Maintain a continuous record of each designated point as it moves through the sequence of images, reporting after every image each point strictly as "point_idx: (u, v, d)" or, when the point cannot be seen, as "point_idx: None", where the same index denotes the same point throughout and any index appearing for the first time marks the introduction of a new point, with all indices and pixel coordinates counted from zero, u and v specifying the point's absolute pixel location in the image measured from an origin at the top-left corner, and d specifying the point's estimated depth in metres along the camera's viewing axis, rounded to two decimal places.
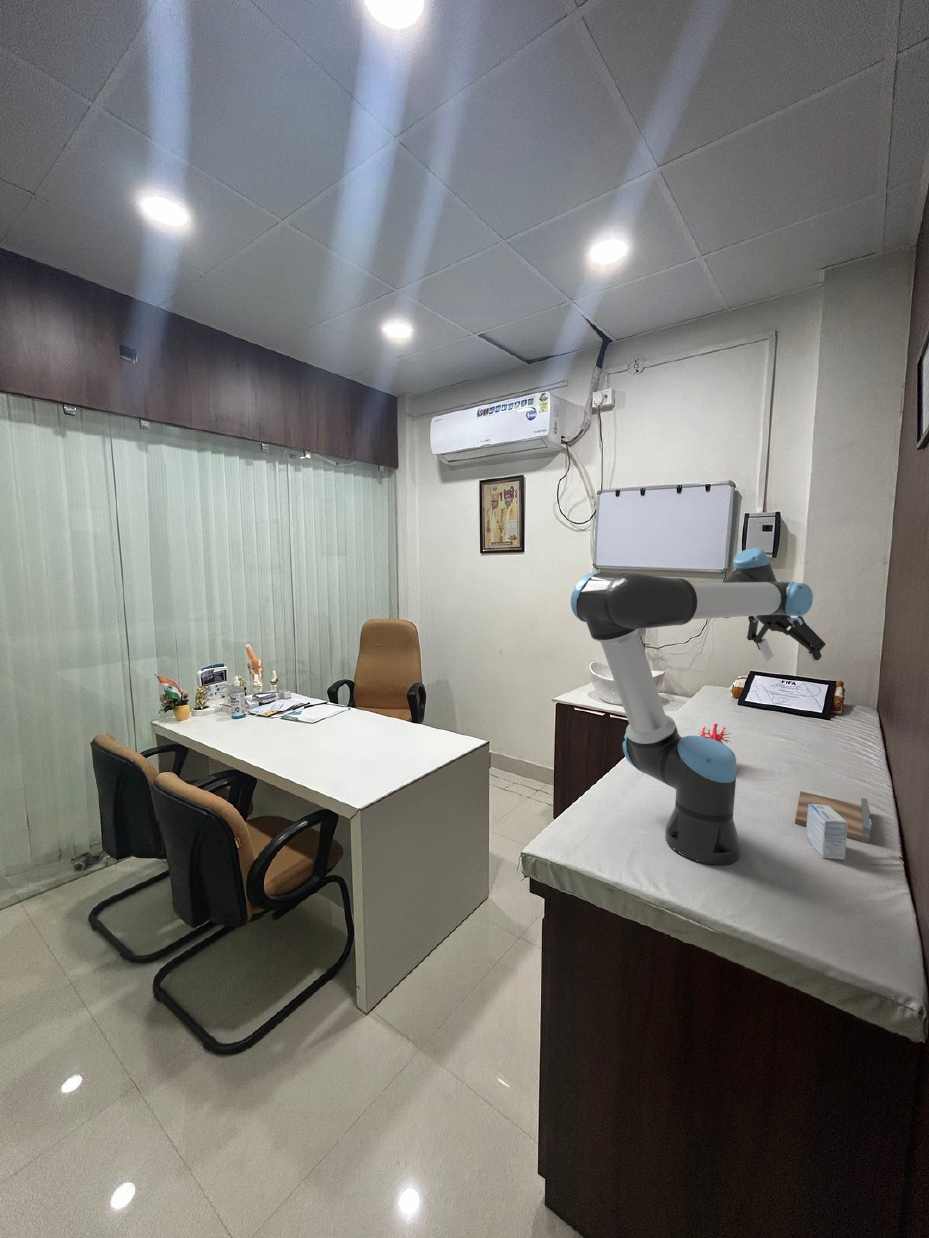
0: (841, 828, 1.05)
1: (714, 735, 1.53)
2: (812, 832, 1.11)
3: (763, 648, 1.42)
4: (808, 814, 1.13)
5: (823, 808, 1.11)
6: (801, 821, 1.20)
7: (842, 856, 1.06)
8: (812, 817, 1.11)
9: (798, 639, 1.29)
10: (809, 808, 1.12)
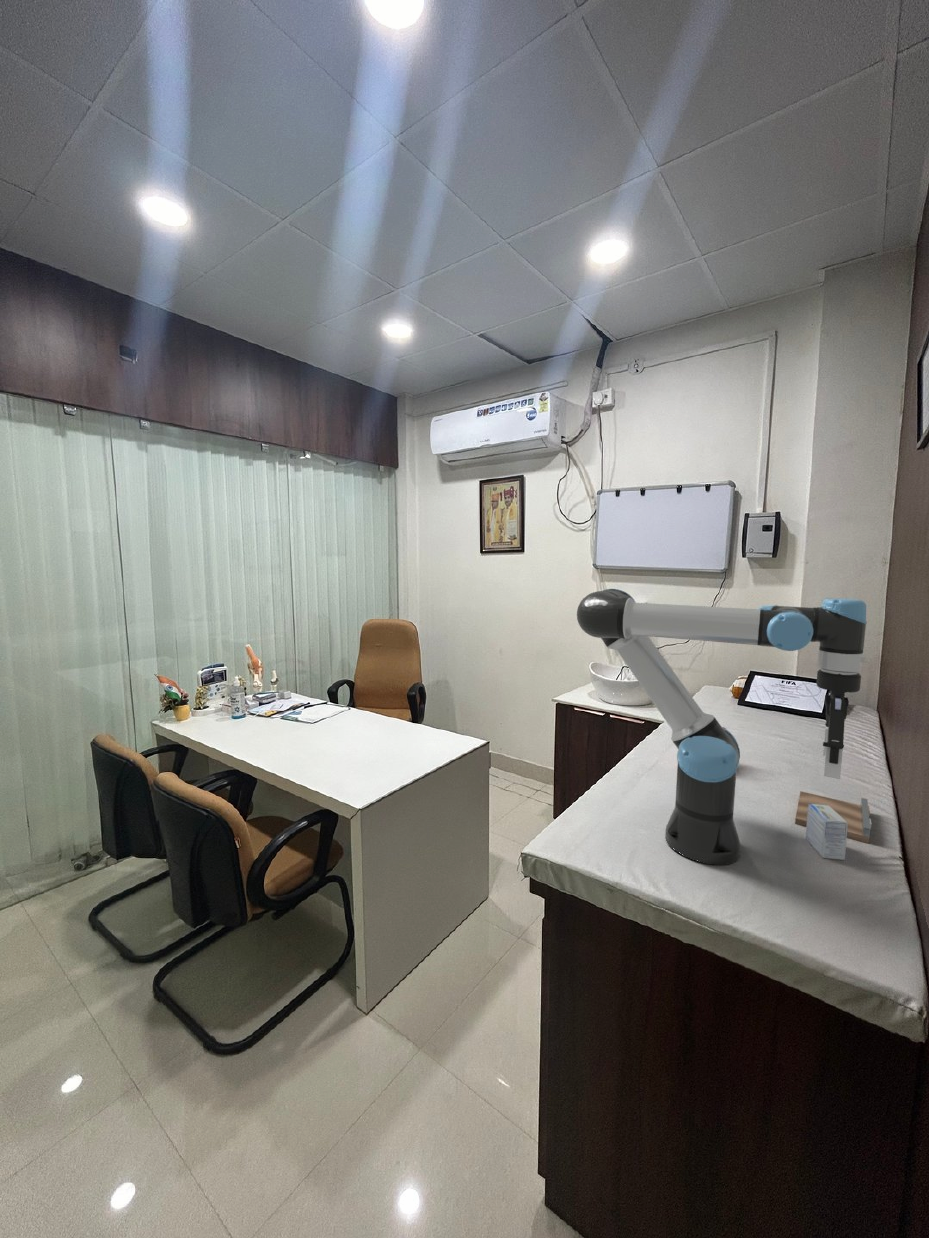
0: (841, 828, 1.05)
1: None
2: (812, 832, 1.11)
3: (826, 736, 1.14)
4: (808, 814, 1.13)
5: (823, 808, 1.11)
6: (801, 821, 1.20)
7: (842, 856, 1.06)
8: (812, 817, 1.11)
9: (828, 725, 1.03)
10: (809, 808, 1.12)
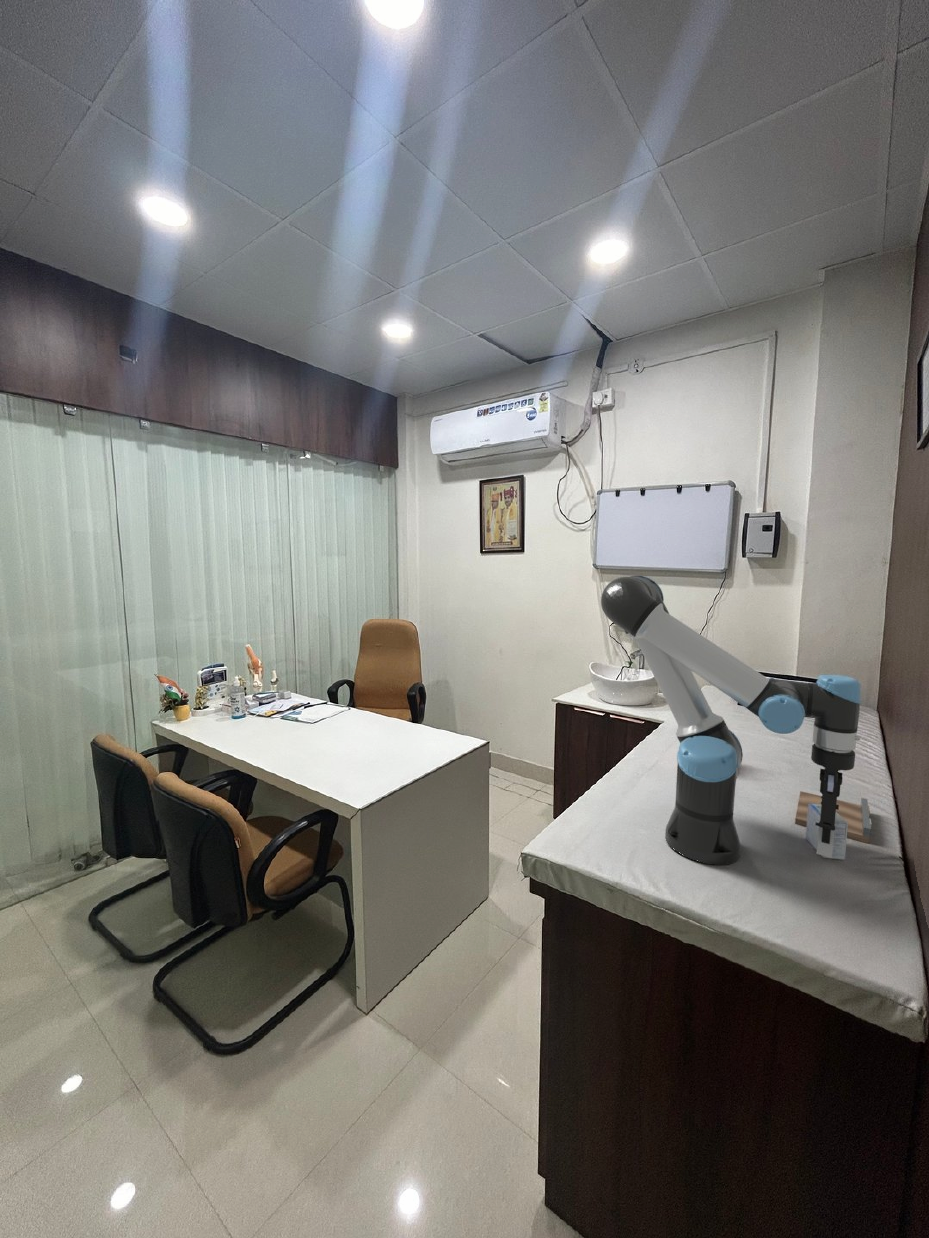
0: (841, 828, 1.05)
1: None
2: (812, 832, 1.11)
3: None
4: (808, 814, 1.13)
5: None
6: (801, 821, 1.20)
7: (843, 856, 1.06)
8: (812, 817, 1.11)
9: None
10: (809, 808, 1.12)
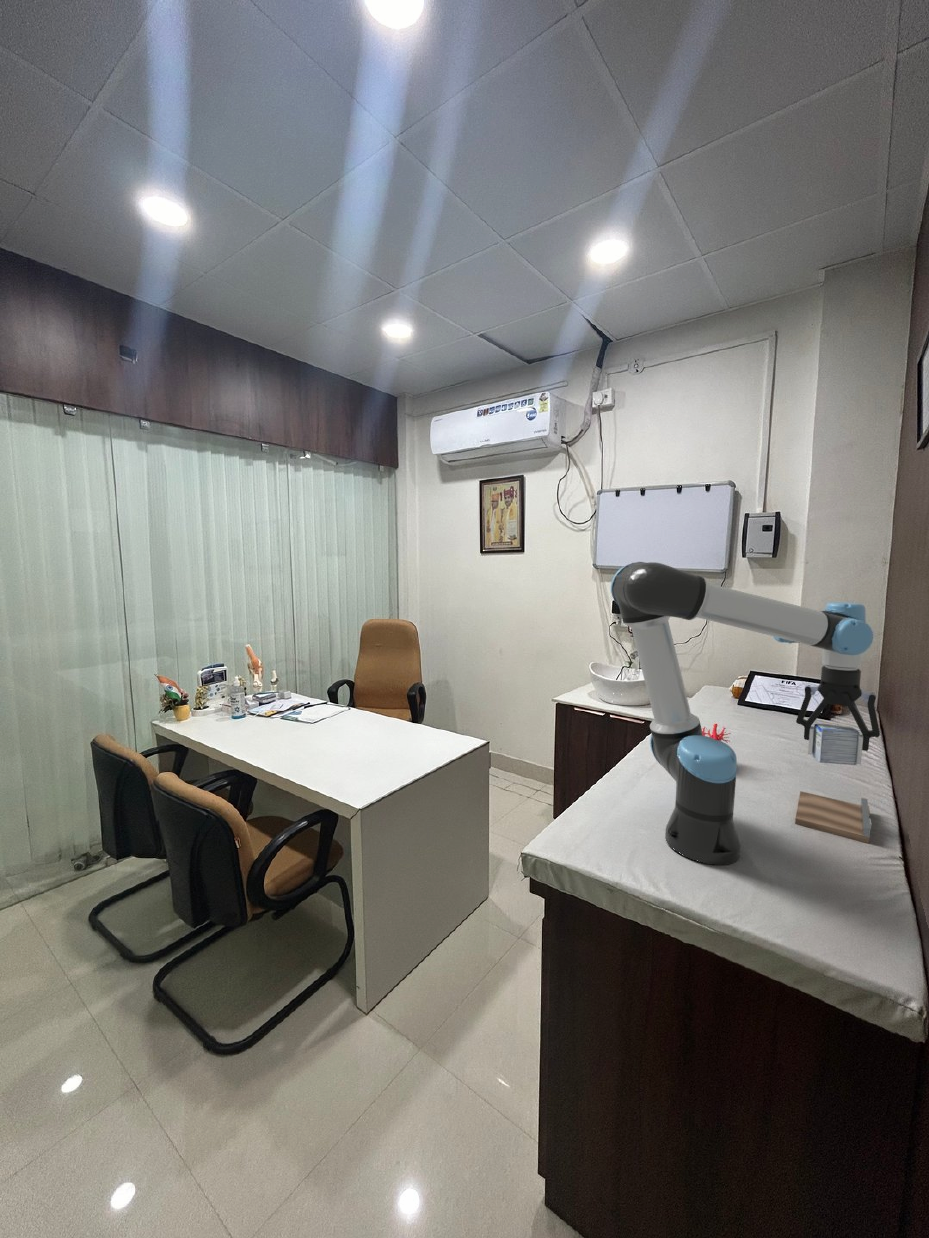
0: None
1: (714, 735, 1.53)
2: (834, 751, 1.19)
3: (813, 736, 1.23)
4: (824, 738, 1.19)
5: (827, 726, 1.21)
6: (801, 821, 1.20)
7: None
8: (833, 737, 1.19)
9: (860, 719, 1.16)
10: (825, 732, 1.19)
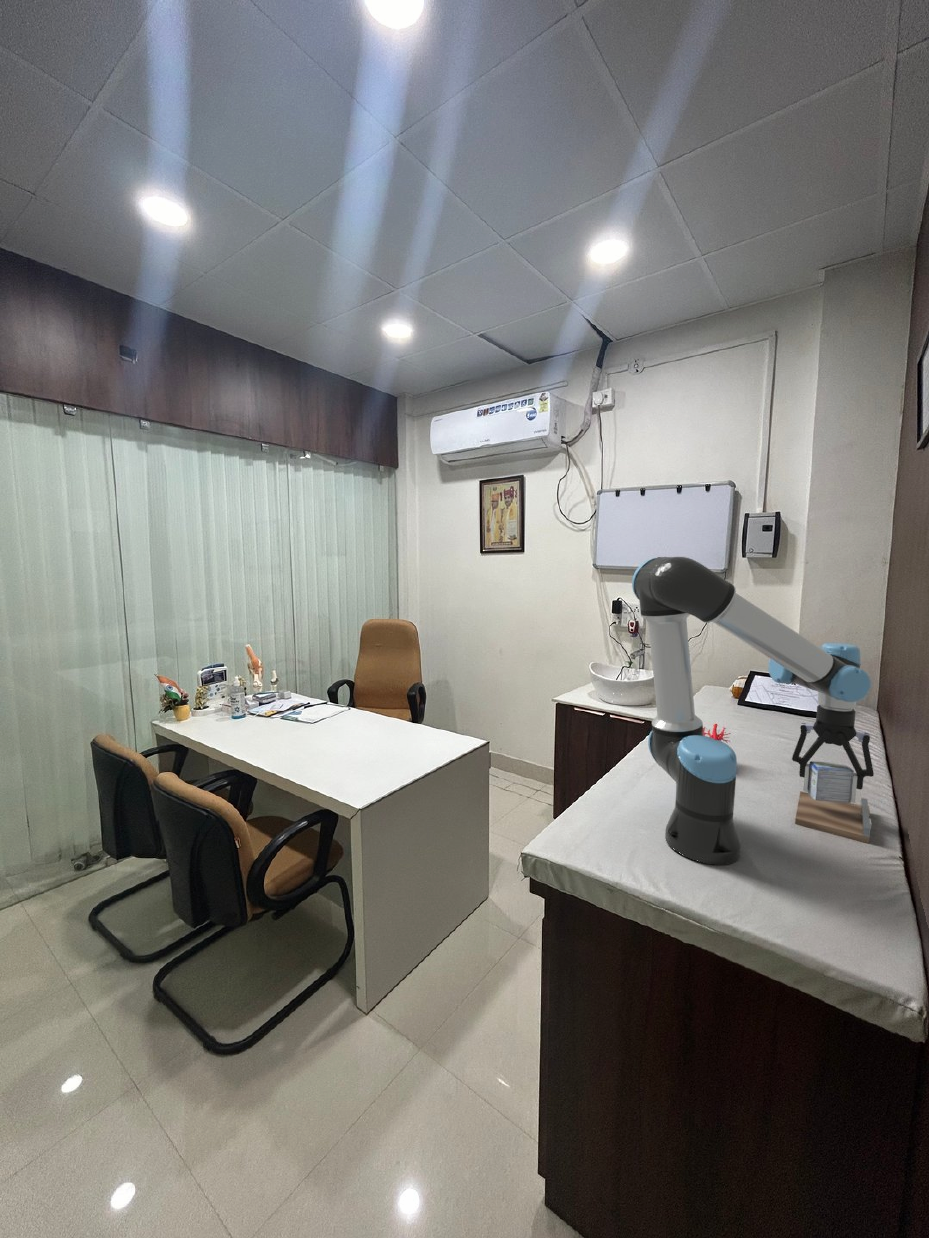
0: None
1: (714, 735, 1.53)
2: (829, 789, 1.21)
3: (808, 774, 1.25)
4: (820, 777, 1.21)
5: (823, 764, 1.23)
6: (801, 821, 1.20)
7: None
8: (828, 776, 1.21)
9: (854, 758, 1.19)
10: (821, 771, 1.21)
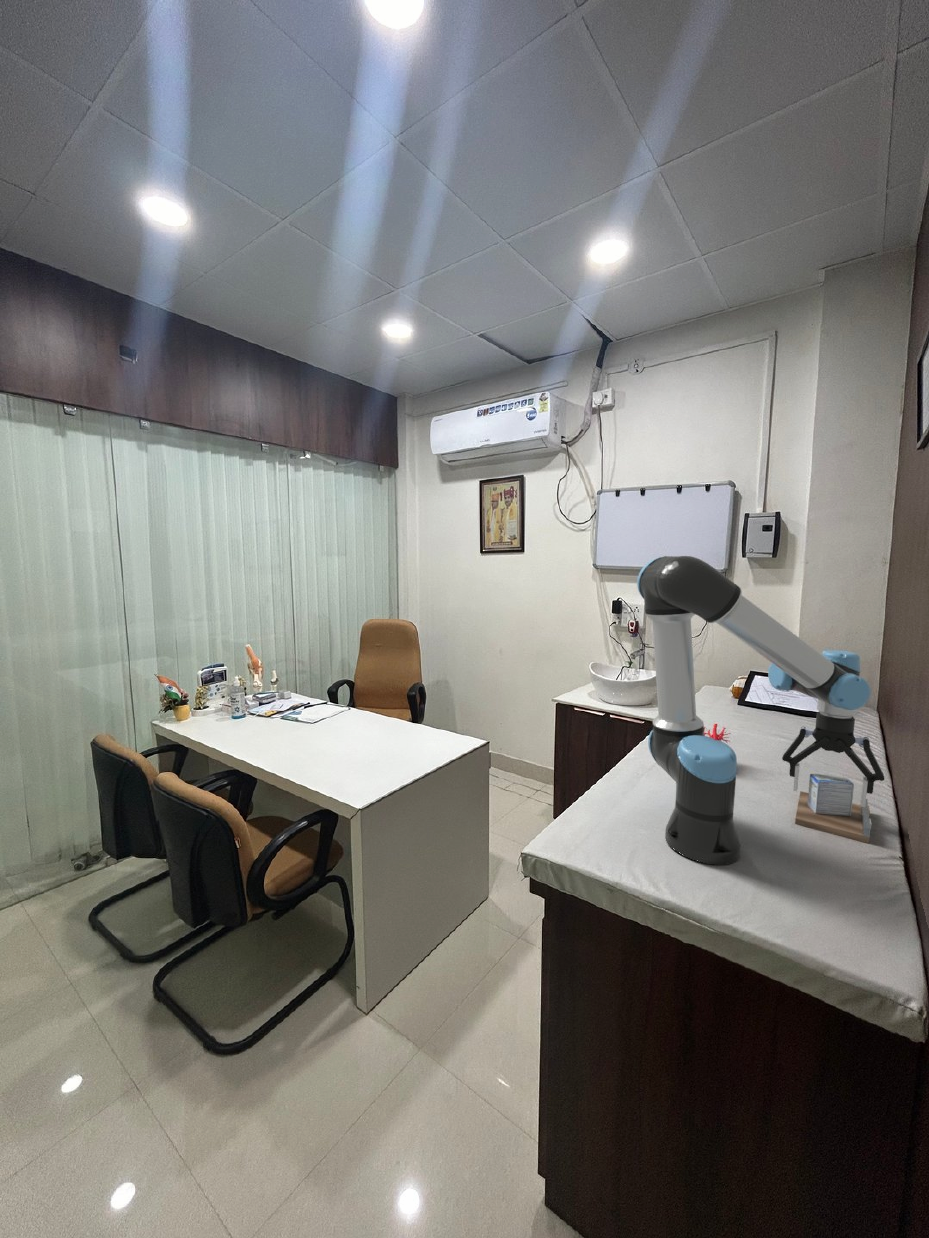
0: None
1: (714, 735, 1.53)
2: (830, 802, 1.21)
3: (798, 773, 1.26)
4: (820, 789, 1.21)
5: (823, 777, 1.23)
6: (801, 821, 1.20)
7: None
8: (829, 789, 1.21)
9: (860, 763, 1.18)
10: (821, 784, 1.21)
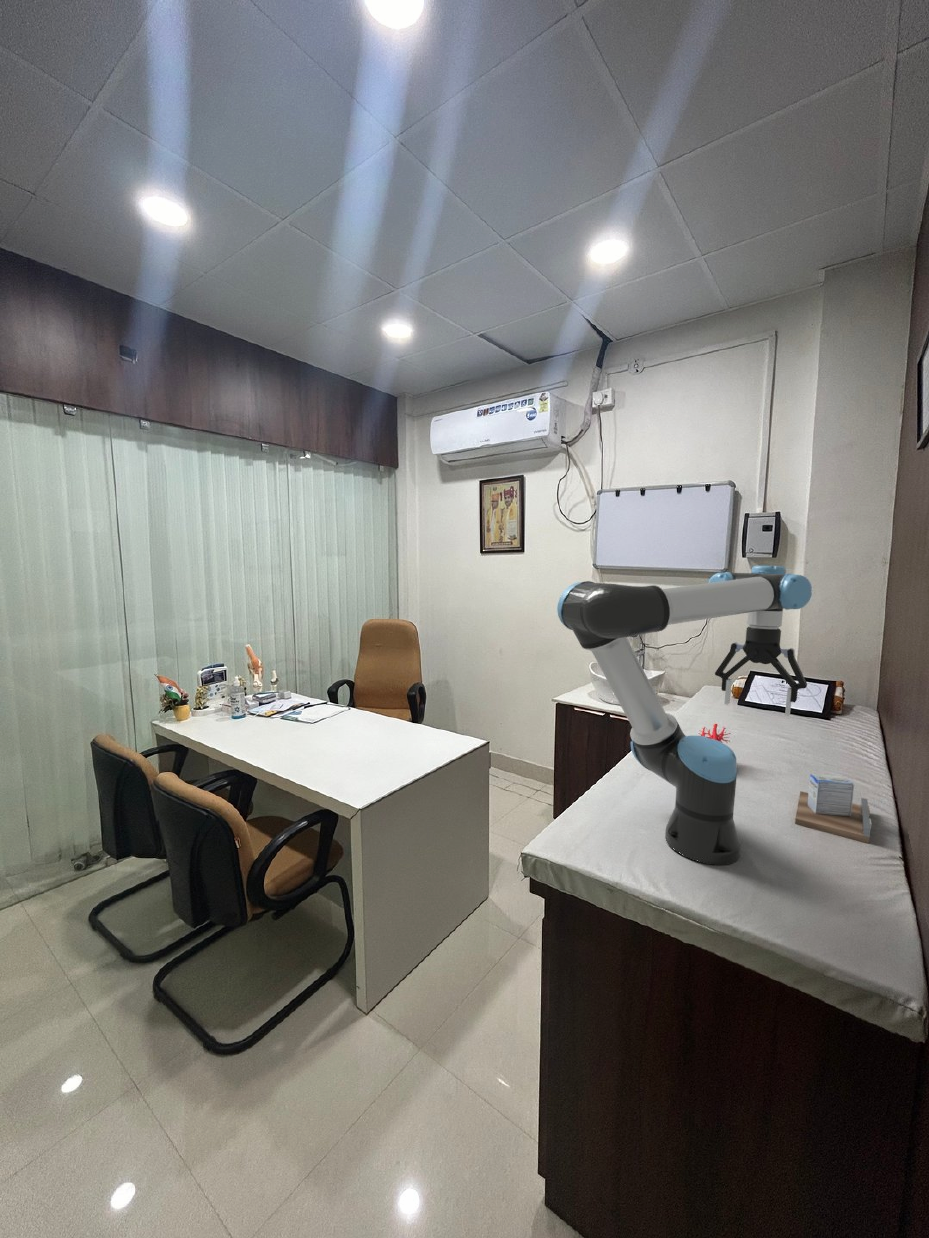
0: None
1: (714, 735, 1.53)
2: (830, 802, 1.21)
3: (729, 687, 1.30)
4: (820, 790, 1.21)
5: (823, 777, 1.23)
6: (801, 821, 1.20)
7: None
8: (829, 789, 1.21)
9: (784, 673, 1.22)
10: (821, 784, 1.21)
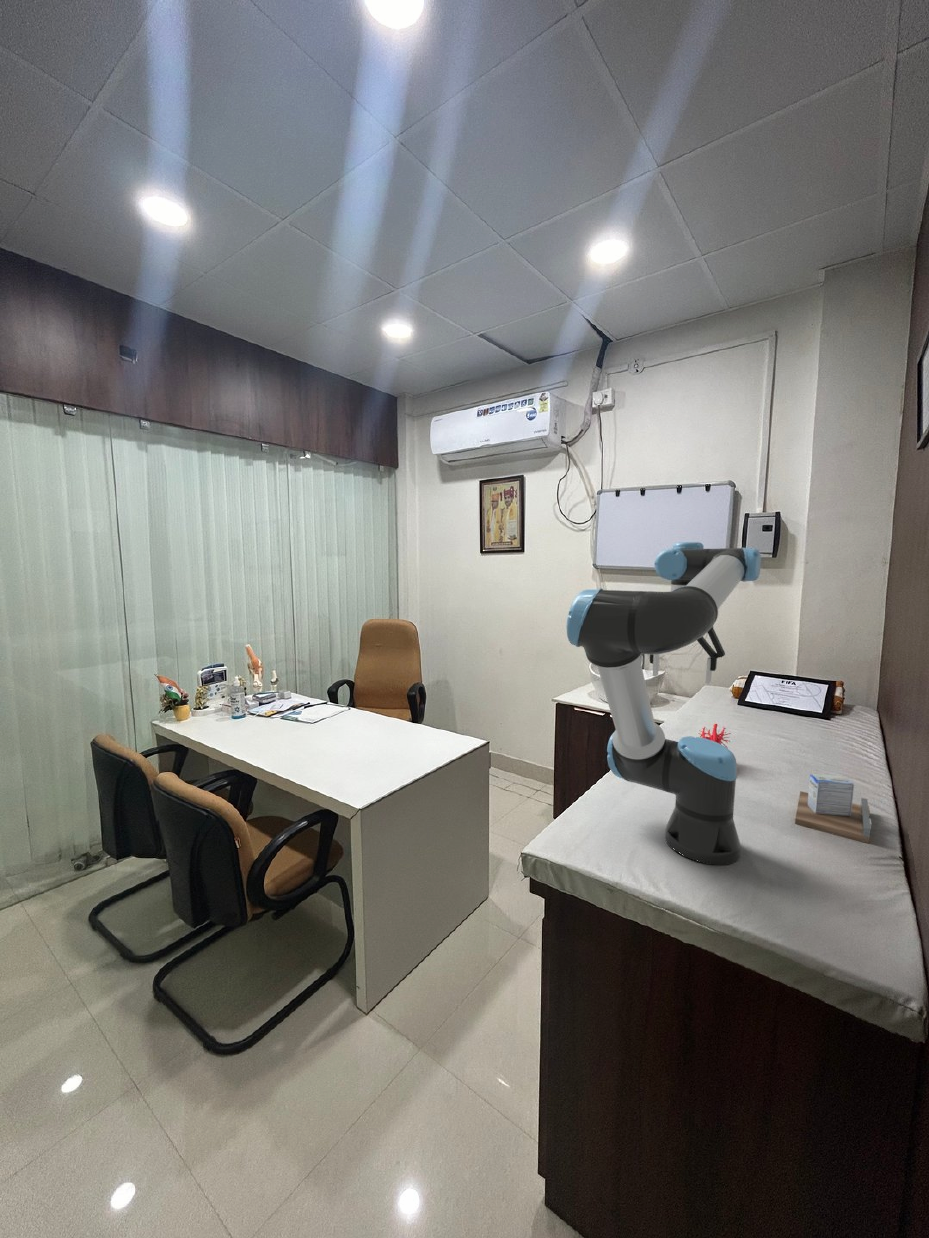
0: None
1: (714, 735, 1.53)
2: (830, 802, 1.21)
3: (656, 659, 1.37)
4: (820, 790, 1.21)
5: (823, 777, 1.23)
6: (801, 821, 1.20)
7: None
8: (829, 789, 1.21)
9: (704, 643, 1.29)
10: (821, 784, 1.21)
